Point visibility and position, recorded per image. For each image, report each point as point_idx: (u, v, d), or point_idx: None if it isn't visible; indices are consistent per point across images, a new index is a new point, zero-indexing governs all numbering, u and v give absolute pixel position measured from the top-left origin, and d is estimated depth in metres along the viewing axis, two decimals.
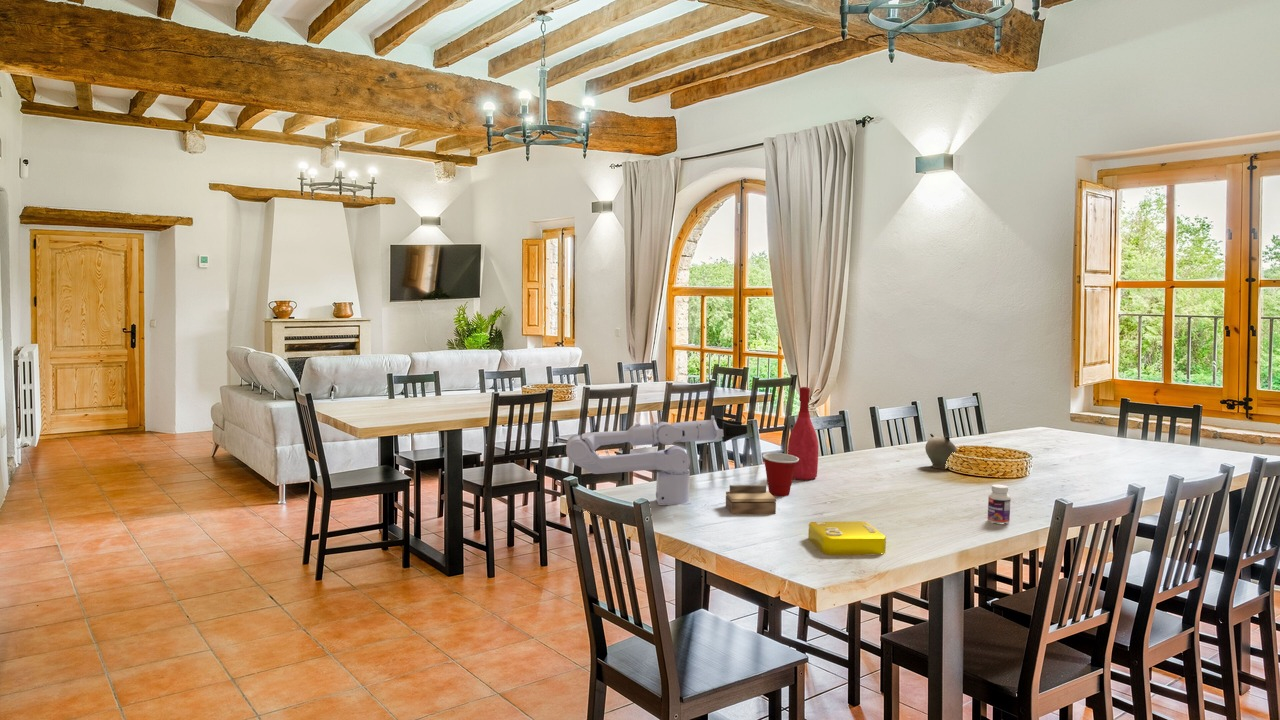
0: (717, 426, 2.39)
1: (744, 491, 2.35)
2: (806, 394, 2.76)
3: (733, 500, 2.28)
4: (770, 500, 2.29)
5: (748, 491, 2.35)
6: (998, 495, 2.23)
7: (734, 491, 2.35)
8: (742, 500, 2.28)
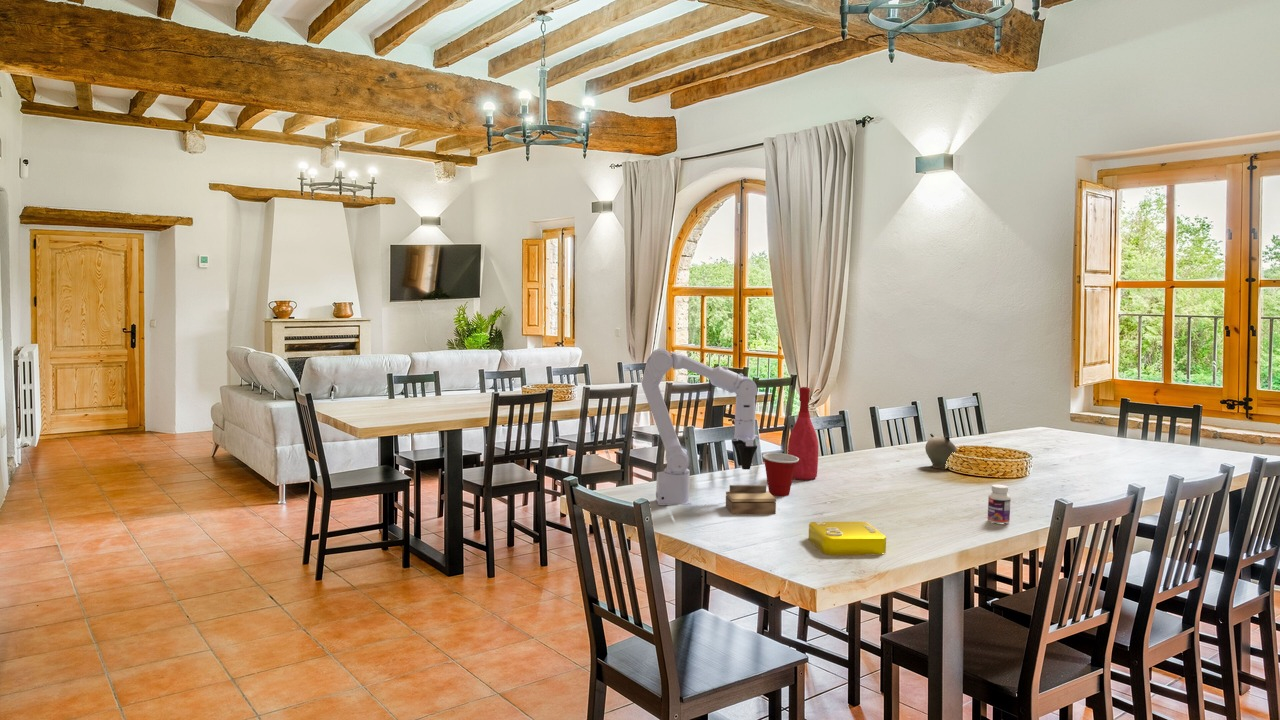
0: None
1: (744, 491, 2.35)
2: (806, 394, 2.76)
3: (733, 500, 2.28)
4: (770, 500, 2.29)
5: (748, 491, 2.35)
6: (998, 495, 2.23)
7: (734, 491, 2.35)
8: (742, 500, 2.28)
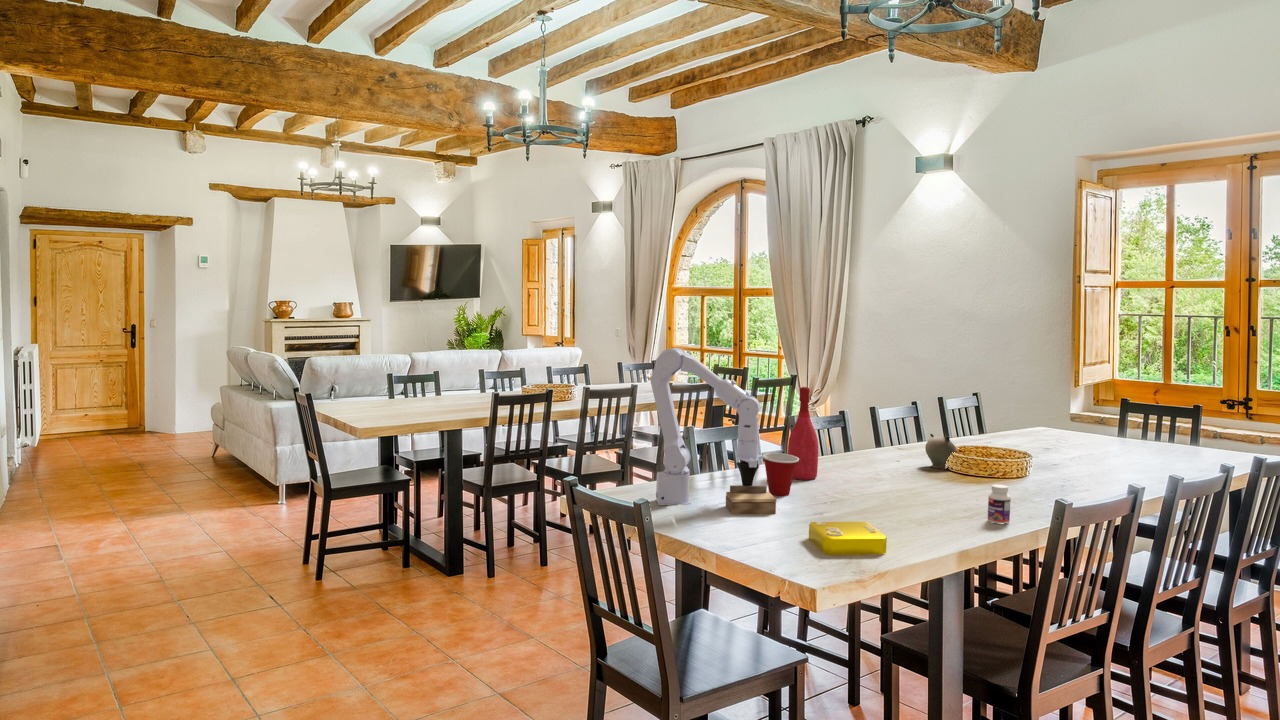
0: None
1: (744, 491, 2.35)
2: (806, 394, 2.76)
3: (733, 500, 2.27)
4: (770, 500, 2.28)
5: (748, 491, 2.35)
6: (998, 495, 2.23)
7: (734, 491, 2.35)
8: (742, 500, 2.27)
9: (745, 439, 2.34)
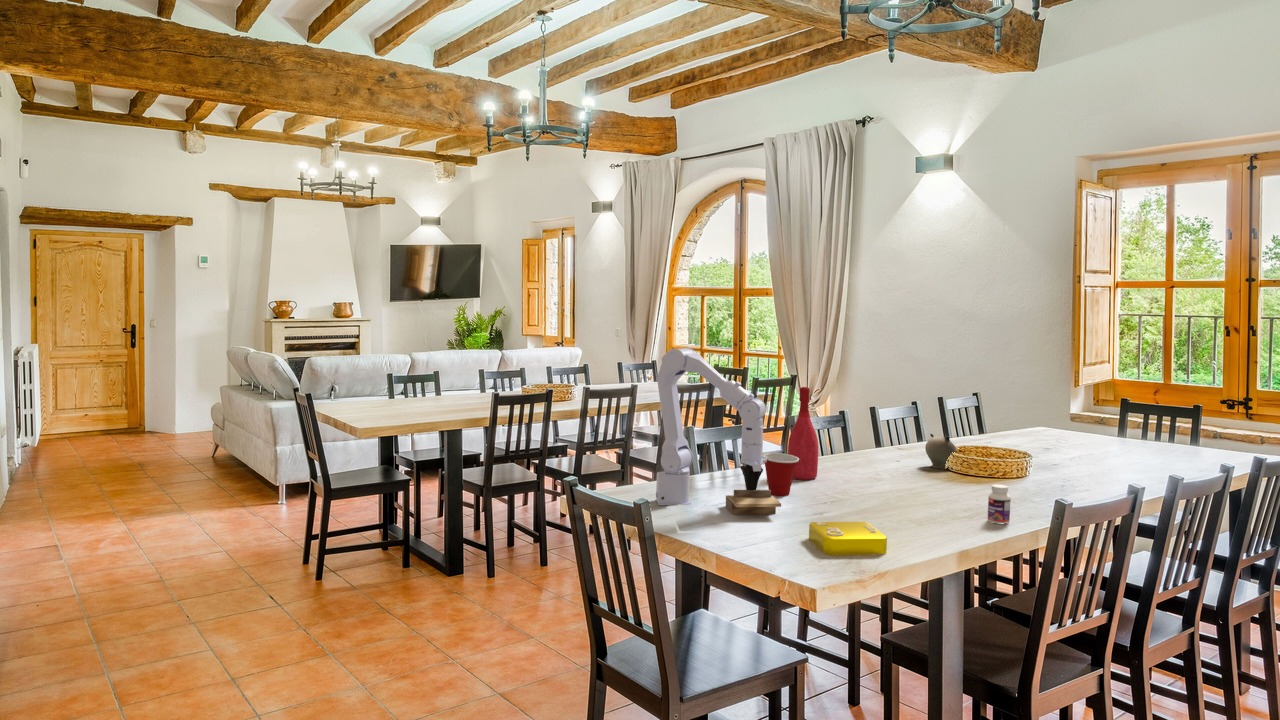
0: None
1: (748, 496, 2.30)
2: (806, 394, 2.76)
3: (737, 505, 2.22)
4: (775, 505, 2.23)
5: (752, 496, 2.30)
6: (998, 495, 2.23)
7: (738, 496, 2.29)
8: (746, 505, 2.22)
9: (747, 442, 2.29)
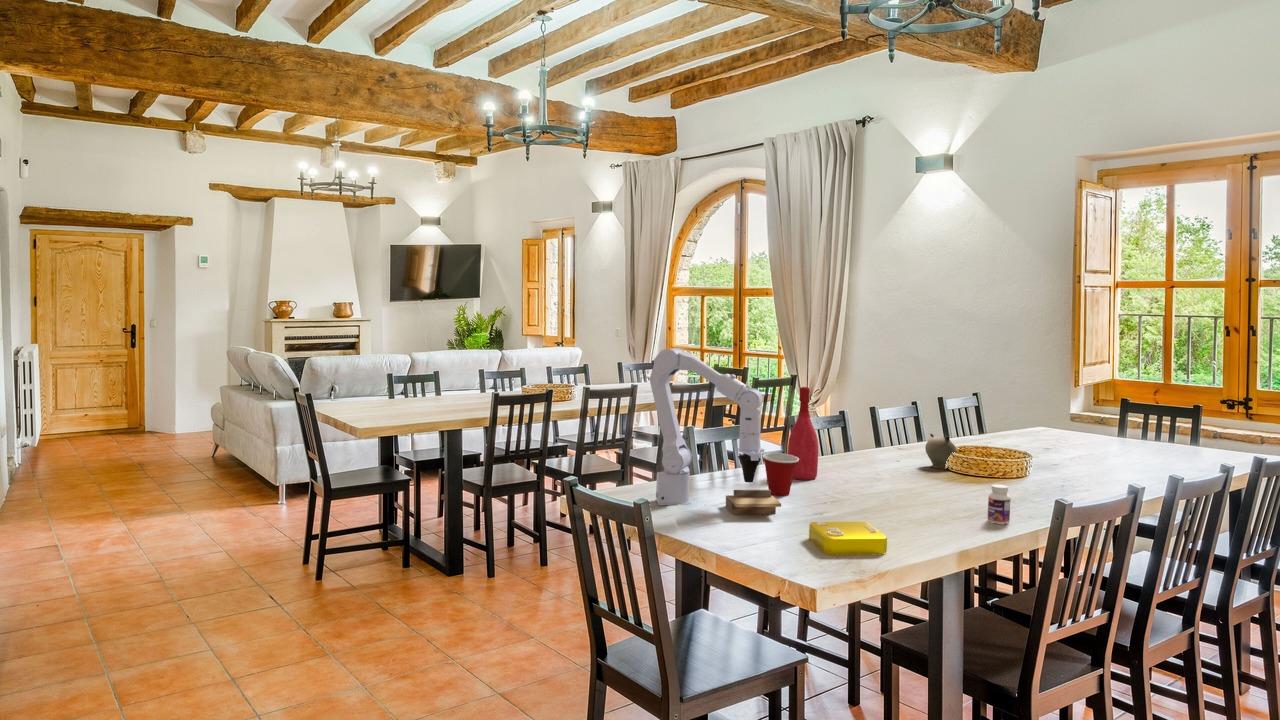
0: None
1: (748, 496, 2.30)
2: (806, 394, 2.76)
3: (737, 505, 2.22)
4: (775, 505, 2.23)
5: (752, 496, 2.30)
6: (998, 495, 2.23)
7: (738, 496, 2.29)
8: (746, 505, 2.22)
9: (746, 432, 2.31)
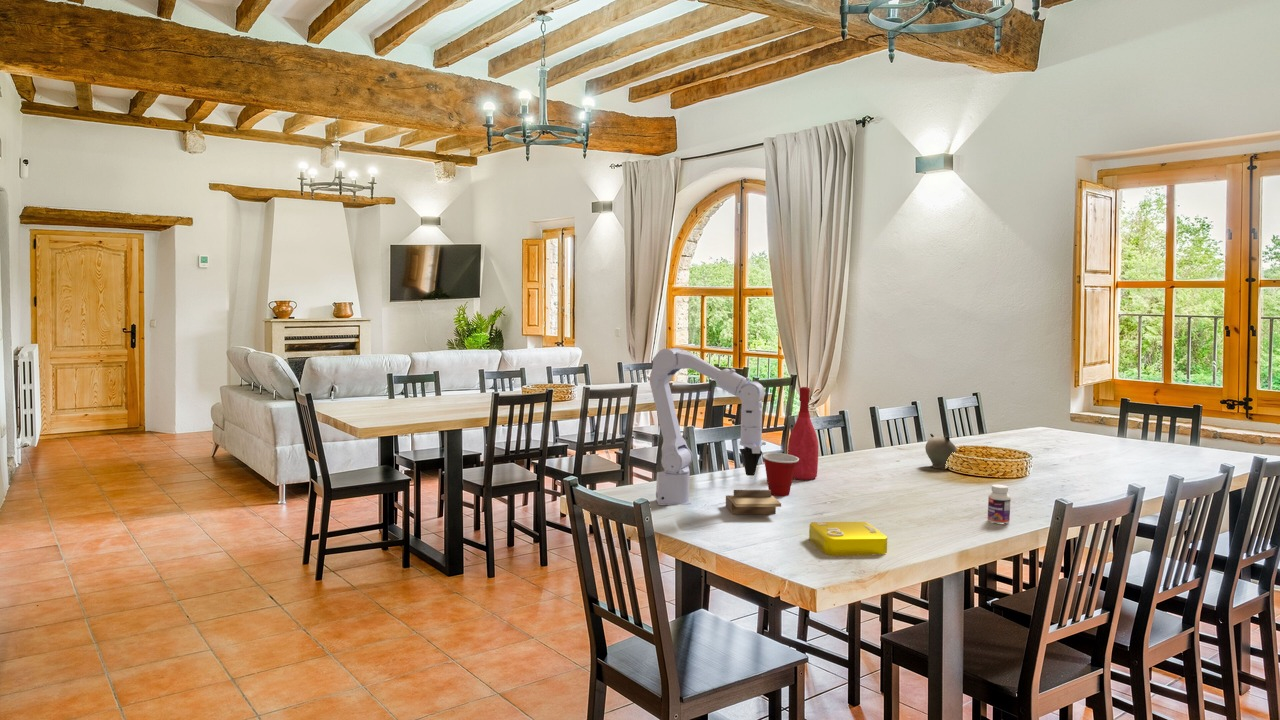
0: None
1: (748, 496, 2.30)
2: (806, 394, 2.76)
3: (737, 505, 2.22)
4: (775, 505, 2.23)
5: (752, 496, 2.30)
6: (998, 495, 2.23)
7: (738, 496, 2.29)
8: (746, 505, 2.22)
9: (747, 425, 2.30)
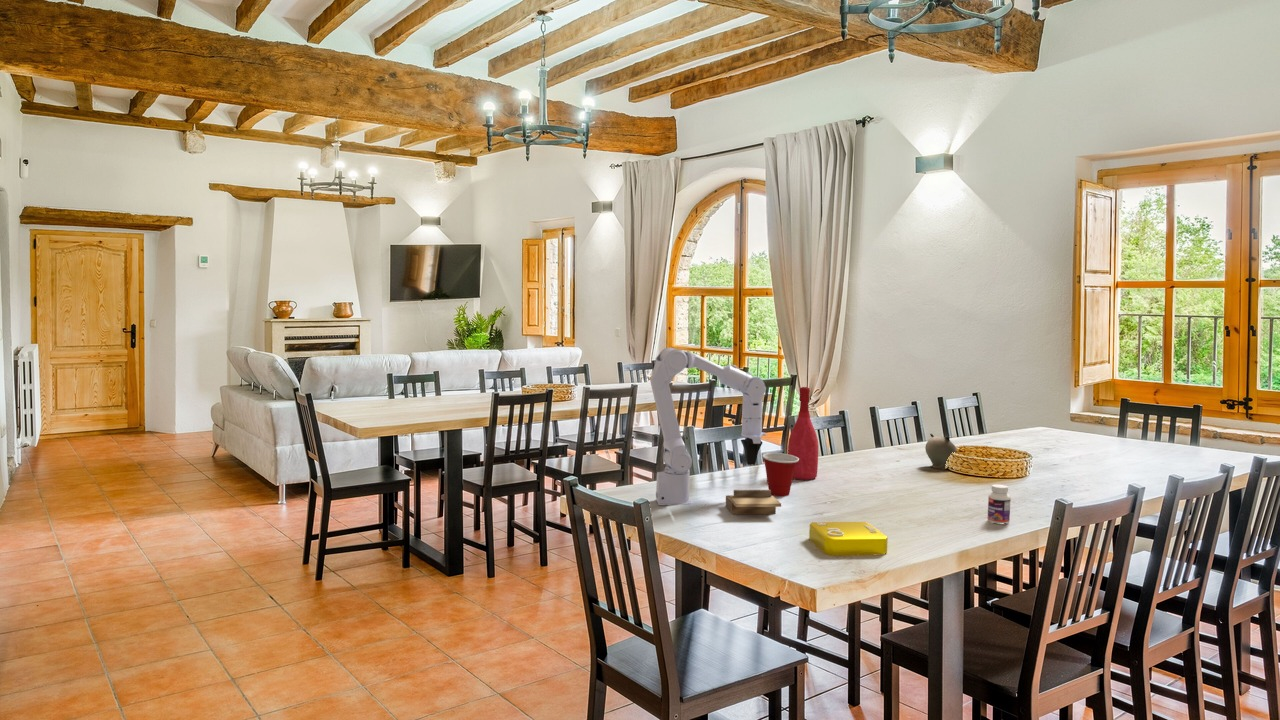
0: None
1: (748, 496, 2.30)
2: (806, 394, 2.76)
3: (737, 505, 2.22)
4: (775, 505, 2.23)
5: (752, 496, 2.30)
6: (998, 495, 2.23)
7: (738, 496, 2.29)
8: (746, 505, 2.22)
9: (754, 417, 2.43)
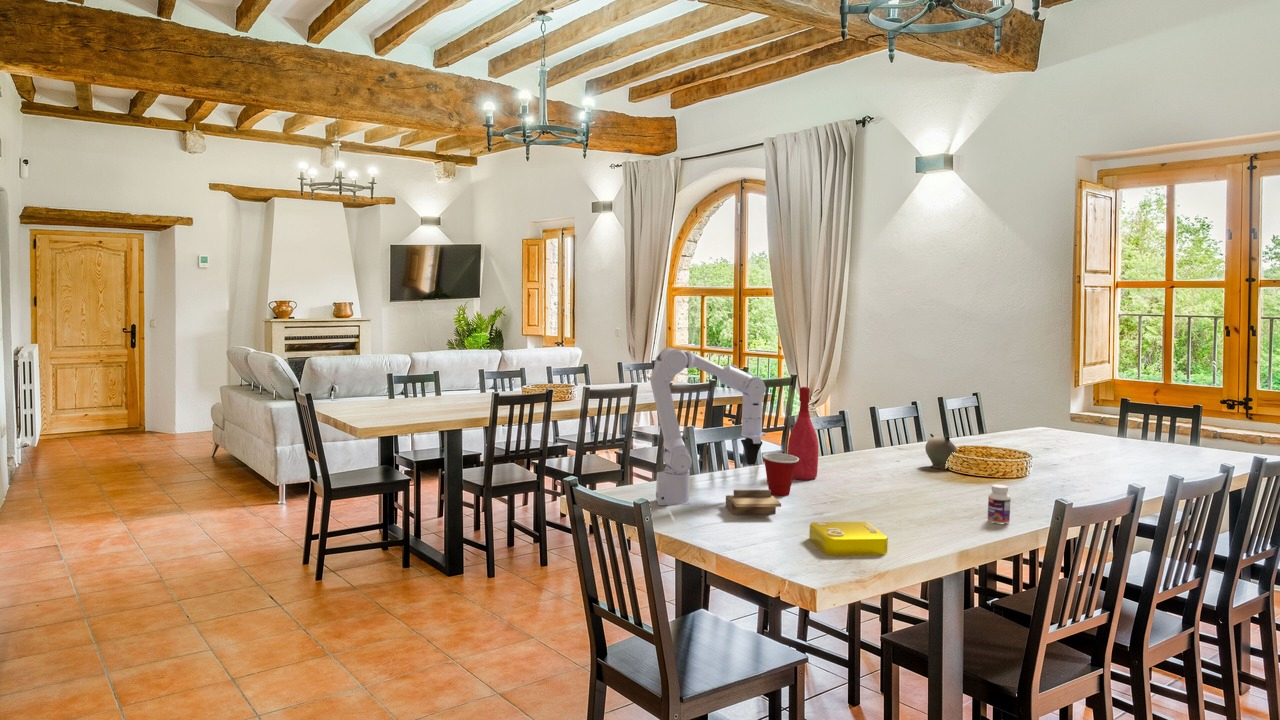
0: None
1: (748, 496, 2.30)
2: (806, 394, 2.76)
3: (737, 505, 2.22)
4: (775, 505, 2.23)
5: (752, 496, 2.30)
6: (998, 495, 2.23)
7: (738, 496, 2.29)
8: (746, 505, 2.22)
9: (754, 417, 2.43)
